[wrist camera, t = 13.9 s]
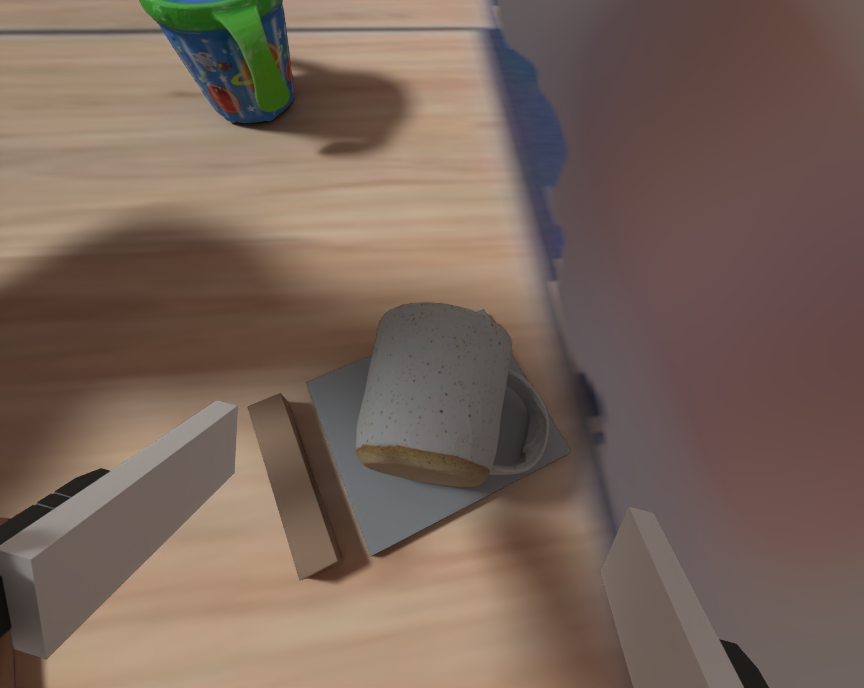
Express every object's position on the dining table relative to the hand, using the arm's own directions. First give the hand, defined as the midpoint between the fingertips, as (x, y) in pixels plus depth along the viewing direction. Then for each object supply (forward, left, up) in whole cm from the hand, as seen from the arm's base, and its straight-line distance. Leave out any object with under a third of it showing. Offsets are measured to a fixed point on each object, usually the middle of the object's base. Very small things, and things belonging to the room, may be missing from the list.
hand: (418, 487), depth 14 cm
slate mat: (-5, +3, -11) cm, 13 cm away
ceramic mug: (-4, +4, -11) cm, 12 cm away
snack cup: (-40, +1, -12) cm, 41 cm away
